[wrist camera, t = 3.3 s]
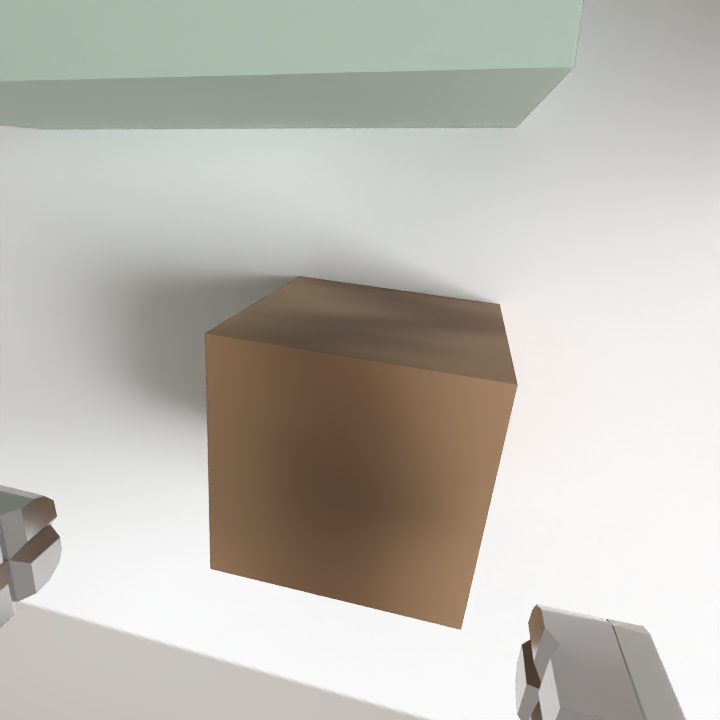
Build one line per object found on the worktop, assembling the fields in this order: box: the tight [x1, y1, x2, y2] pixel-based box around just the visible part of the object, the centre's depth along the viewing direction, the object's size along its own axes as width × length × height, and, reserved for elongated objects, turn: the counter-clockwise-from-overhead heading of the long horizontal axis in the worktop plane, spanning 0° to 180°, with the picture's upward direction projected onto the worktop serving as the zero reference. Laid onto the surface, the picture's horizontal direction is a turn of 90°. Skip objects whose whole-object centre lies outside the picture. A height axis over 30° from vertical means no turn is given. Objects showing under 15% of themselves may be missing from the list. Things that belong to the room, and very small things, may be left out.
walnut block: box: [205, 276, 517, 630], centre depth 13 cm, size 6×6×6 cm
